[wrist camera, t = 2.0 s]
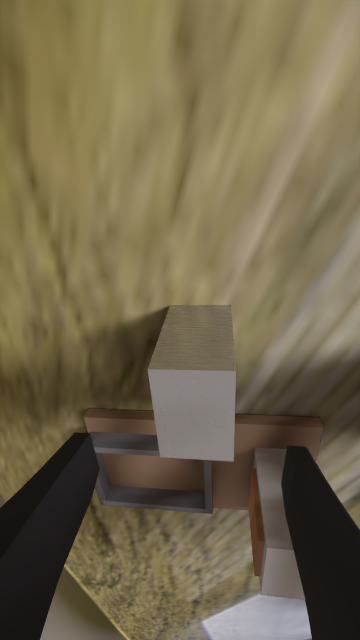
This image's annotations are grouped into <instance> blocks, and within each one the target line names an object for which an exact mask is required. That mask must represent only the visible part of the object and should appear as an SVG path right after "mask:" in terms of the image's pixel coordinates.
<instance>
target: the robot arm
mask: <svg viewBox="0 0 360 640" xmlns="http://www.w3.org/2000/svg"><path fill="white" fill-rule="evenodd" d="M99 470H100V468H99V464H98V460H97V457H96V453H95V449H94V446H93V442H92V438H91V435H90V433H74V434H73V435H72V436H71V437H70V438H69V439H68V440H67V441H66V442H65V443H64V444H63V445H62V446H61V448H60V449H59V450H58V451H57V452H56V453H55V454H54V455H53V456H52V457H51V458H50V459H49V460H48V461H47V462H46V463H45V465H44V466H43V467H42V468H41V469H40V470H39V471H38V472H37V473H36V474H35V475H34V476H33V477H32V478H31V479H30V480H29V481H28V482H27V483H26V484H25V485H24V486H23V487H22V488H21V489H20V490H19V491H18V492H17V493H16V494H15V495H14V496H13V497H11V498H10V499H9V500H8V501H7V502H6V503H5V504H4V505H3V506H2V507H1V508H0V640H40V637H41V634H42V631H43V627H44V624H45V621H46V618H47V614H48V611H49V608H50V605H51V602H52V599H53V596H54V593H55V589H56V586H57V583H58V580H59V578H60V575H61V572H62V570H63V567H64V564H65V562H66V560H67V557H68V555H69V552H70V550H71V547H72V545H73V542H74V540H75V538H76V535H77V533H78V530H79V528H80V525H81V523H82V520H83V518H84V515H85V513H86V511H87V508H88V506H89V503H90V500H91V498H92V495H93V491H94V488H95V485H96V481H97V477H98V474H99ZM281 486H282V494H283V502H284V509H285V516H286V520H287V524H288V529H289V533H290V537H291V541H292V546H293V550H294V554H295V558H296V563H297V567H298V571H299V575H300V579H301V584H302V588H303V592H304V596H305V601H306V606H307V611H308V616H309V622H310V629H311V635H312V640H360V529H359V528H358V527H357V525H356V524H355V522H354V521H353V520H352V518H351V517H350V515H349V514H348V512H347V511H346V509H345V508H344V506H343V505H342V503H341V502H340V500H339V499H338V497H337V496H336V494H335V493H334V491H333V490H332V488H331V487H330V485H329V483H328V482H327V480H326V479H325V477H324V475H323V474H322V472H321V470H320V469H319V467H318V465H317V464H316V462H315V460H314V458H313V457H312V455H311V453H310V451H309V449H308V448H307V447H304V446H288V445H287V450H286V456H285V462H284V468H283V474H282V480H281Z"/></svg>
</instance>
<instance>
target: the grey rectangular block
mask: <svg viewBox="0 0 360 640" xmlns="http://www.w3.org/2000/svg"><path fill="white" fill-rule="evenodd" d="M148 376H149V383H150V390H151V397H152V404H153V411H154V418H155V424H156V431H157V438H158V445H159V452H160V457H166V458H183V459H200V460H216V461H233V462H234V429H235V391H236V364H235V352H234V339H233V326H232V313H231V305H170V307H169V310H168V312H167V315H166V318H165V321H164V324H163V327H162V330H161V332H160V335H159V338H158V341H157V344H156V347H155V350H154V352H153V355H152V358H151V361H150V364H149V367H148Z"/></svg>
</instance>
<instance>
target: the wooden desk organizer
mask: <svg viewBox="0 0 360 640" xmlns="http://www.w3.org/2000/svg"><path fill="white" fill-rule="evenodd" d="M84 421H85V424H86V427H87V431H88V433H90V435H91V438H92V442H93V446H94V449H95V453H96V457H97V460H98V464H99V468H100V470H99V474H98V477H97V481H96V485H95V487H96V490H97V494H98V497H99V500H100V503H101V504H102V505H114V506H126V507H138V508H150V509H162V510H173V511H185V512H197V513H209V514H213V508H226V509H238V510H249V516H250V528H251V540H252V552H253V564H254V576H259V579H260V590H261V595H267V596H276V597H284V598H293V599H301V600H305V596H304V592H303V588H302V584H301V579H300V575H299V571H298V567H297V563H296V558H295V554H294V550H293V546H292V541H291V537H290V533H289V529H288V524H287V520H286V516H285V509H284V502H283V494H282V486H281V480H282V474H283V468H284V462H285V456H286V450H287V445H288V446H304V447H307V448H308V449H309V451H310V453H311V455H312V457H313V458H314V460H315V462H316V460H317V455H318V451H319V446H320V442H321V437H322V432H323V428H324V427H323V425H322V422H321V420H320V417H298V416H273V415H247V414H235V429H234V462H233V461H216V460H200V459H183V458H166V457H160V452H159V445H158V438H157V431H156V424H155V418H154V411H144V410H118V409H93V408H88V410H87V412H86V413H85V415H84Z"/></svg>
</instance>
